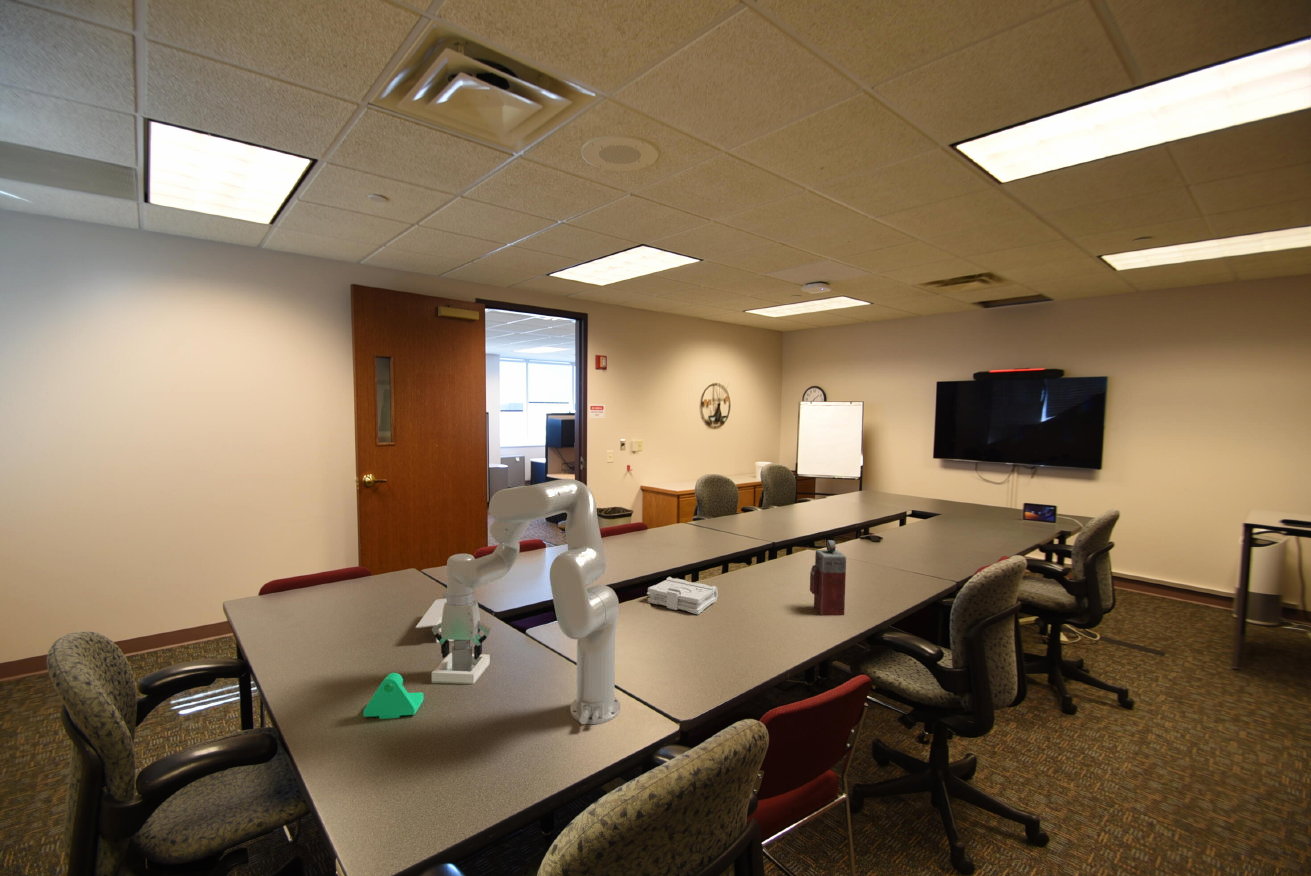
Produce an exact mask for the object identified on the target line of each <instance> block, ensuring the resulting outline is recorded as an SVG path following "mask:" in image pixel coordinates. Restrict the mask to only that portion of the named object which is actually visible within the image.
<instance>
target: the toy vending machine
mask: <svg viewBox="0 0 1311 876" xmlns="http://www.w3.org/2000/svg"><path fill="white" fill-rule="evenodd" d="M825 547H826V549H817V550H815V556H814V557H815V558H814V559H815V561H814V565H812V566H811V568H810V569H811V570H810V574H809V591H810V592H811V594H812V595H814V596H813V608H814V609H815V611H816V612H817V613H818V614H819V615H820V616H823V617H825V616H827V617H828V616H829V617H830V616H845V606H846V605H845V604H846V602H845V601H846V581H847V579H846V575H847V574H846V572H847V556H846V555H845V554H843V553H842V552H841V551H839V550H838V549H837V547H836V541H835V540H830V539H827V541H826V543H825Z"/></svg>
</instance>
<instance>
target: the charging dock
mask: <svg viewBox="0 0 1311 876" xmlns="http://www.w3.org/2000/svg"><path fill="white" fill-rule="evenodd" d="M490 656H491V655H490V654H487V653H486V654H483V653H482V654H481V655H480V656H479V657H478V659H474V653H472V670H471V672H469V671H452V652H449V654H448V655H447V656H446V657H445V658H443V660H442V661H441V662H440V663H439V664H438V665H437V666H436V667H435V668H434V669H433V671H432V672H431V684H457V685H460V684H461V685H462V684H463V685H475V683H476V682H477V681H478V680H479V678H480V677H481V676H482V675H483V673H484V672H485V671H486V670H487V668H488V667H489V665H490V664H491V662H490V661H491V659H490V658H491V657H490Z"/></svg>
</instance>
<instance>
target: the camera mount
mask: <svg viewBox="0 0 1311 876" xmlns="http://www.w3.org/2000/svg"><path fill="white" fill-rule="evenodd" d="M403 683H404V678H403V676H402V675H401V674H400V673H398V672H391V673H388V674H387V675H386V676H385V678H384V679H383V680H382V681H381V683H379V686H378V687H377V689H376V690H375V692H374V694H373V695H372V697H371V698H370V700H369V701H368V703H367V704H366V706H365V708H364V709H363V717H364V718H365V717H379V720H382V719H384V720H385V719H399V718H401V716H412V715H413V716H415V714H416V713H417V712H418V710H419V709H420V706H421V705H422V703H423V702H424V698H425V697H424V692H408V691H407V689H406V688H405V686H404V685H403Z"/></svg>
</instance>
